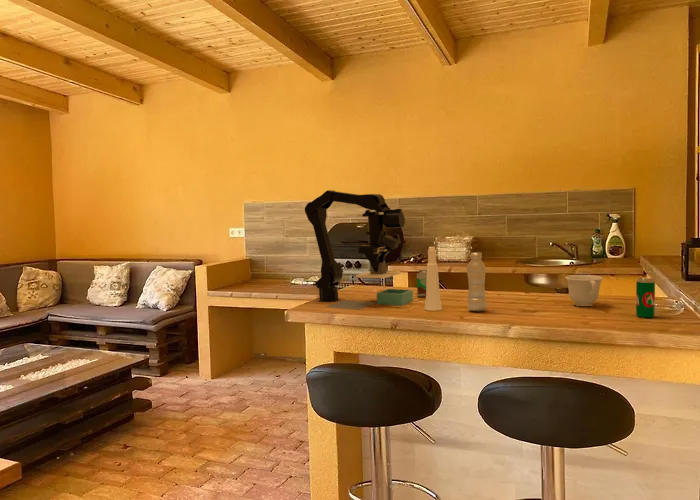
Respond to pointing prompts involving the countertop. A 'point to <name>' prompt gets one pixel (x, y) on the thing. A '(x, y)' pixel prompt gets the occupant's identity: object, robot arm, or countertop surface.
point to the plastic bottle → (476, 283)
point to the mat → (351, 304)
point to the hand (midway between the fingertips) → (378, 271)
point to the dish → (394, 297)
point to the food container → (421, 283)
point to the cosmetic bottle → (432, 283)
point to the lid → (378, 272)
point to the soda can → (645, 297)
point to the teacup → (583, 289)
